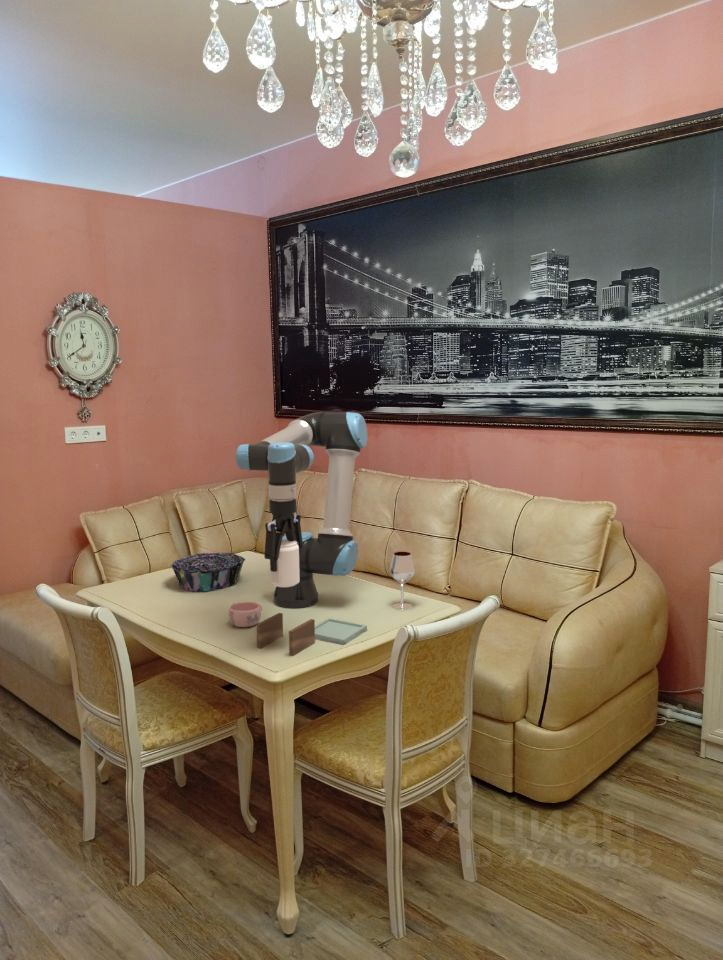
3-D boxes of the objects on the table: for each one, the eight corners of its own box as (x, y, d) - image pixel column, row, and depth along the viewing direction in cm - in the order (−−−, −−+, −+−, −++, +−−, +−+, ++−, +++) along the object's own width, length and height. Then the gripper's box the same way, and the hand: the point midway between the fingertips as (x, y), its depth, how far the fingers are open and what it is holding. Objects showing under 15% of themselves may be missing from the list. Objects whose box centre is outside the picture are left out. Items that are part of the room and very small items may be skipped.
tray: (304, 636, 222) (304, 631, 222) (328, 622, 234) (328, 617, 234) (343, 644, 216) (343, 639, 215) (367, 630, 227) (367, 625, 227)
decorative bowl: (259, 585, 280) (260, 558, 279) (205, 599, 257) (205, 570, 256) (210, 574, 294) (210, 549, 293) (154, 586, 271) (154, 559, 270)
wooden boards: (257, 647, 214) (256, 624, 213) (279, 635, 223) (279, 612, 222) (293, 656, 208) (292, 631, 207) (314, 642, 217) (314, 619, 216)
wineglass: (388, 603, 252) (388, 550, 249) (412, 602, 253) (412, 550, 250) (391, 611, 244) (391, 557, 241) (416, 610, 245) (416, 556, 242)
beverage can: (295, 589, 208) (293, 547, 206) (267, 587, 210) (265, 545, 208) (303, 580, 216) (302, 539, 214) (276, 578, 218) (274, 538, 216)
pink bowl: (243, 632, 226) (243, 613, 225) (222, 625, 232) (221, 607, 231) (272, 621, 235) (272, 603, 234) (251, 615, 241) (250, 597, 240)
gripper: (271, 506, 198) (273, 590, 202) (314, 493, 216) (316, 570, 220) (248, 504, 202) (251, 586, 206) (292, 491, 219) (294, 566, 223)
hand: (284, 577), depth 213 cm, fingers closed on beverage can, 8 cm apart
